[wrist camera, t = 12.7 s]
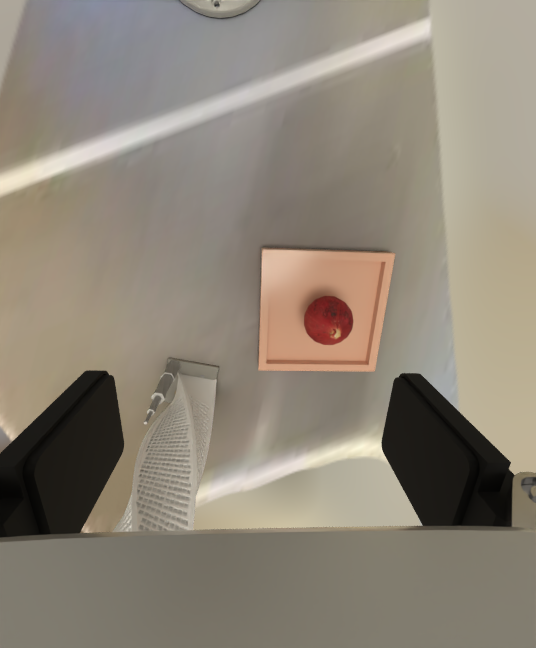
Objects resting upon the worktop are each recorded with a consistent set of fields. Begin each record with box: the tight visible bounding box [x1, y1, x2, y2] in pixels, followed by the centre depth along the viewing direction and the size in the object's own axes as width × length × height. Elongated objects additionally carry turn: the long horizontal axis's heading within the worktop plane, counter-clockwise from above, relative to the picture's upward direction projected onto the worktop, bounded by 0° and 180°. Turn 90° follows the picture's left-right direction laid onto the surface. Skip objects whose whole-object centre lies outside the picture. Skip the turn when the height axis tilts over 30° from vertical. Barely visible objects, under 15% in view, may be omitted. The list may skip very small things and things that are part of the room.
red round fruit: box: [304, 296, 353, 345], centre depth 37 cm, size 6×6×8 cm
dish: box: [258, 247, 395, 371], centre depth 40 cm, size 16×16×2 cm
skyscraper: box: [112, 358, 219, 532], centre depth 31 cm, size 8×8×28 cm
